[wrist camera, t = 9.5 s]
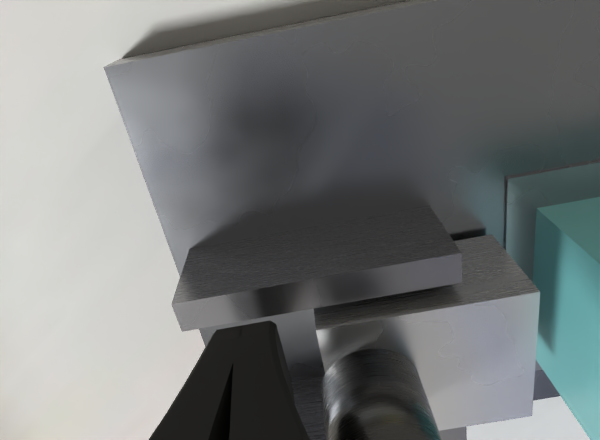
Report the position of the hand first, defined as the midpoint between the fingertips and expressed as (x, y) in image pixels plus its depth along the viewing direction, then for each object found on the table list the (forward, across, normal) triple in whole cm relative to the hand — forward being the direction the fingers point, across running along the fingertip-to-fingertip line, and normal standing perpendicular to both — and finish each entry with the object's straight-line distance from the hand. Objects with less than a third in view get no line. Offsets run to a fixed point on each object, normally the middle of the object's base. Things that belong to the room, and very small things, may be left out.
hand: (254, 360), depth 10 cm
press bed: (+5, -7, 0) cm, 9 cm away
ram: (+3, -4, +2) cm, 5 cm away
